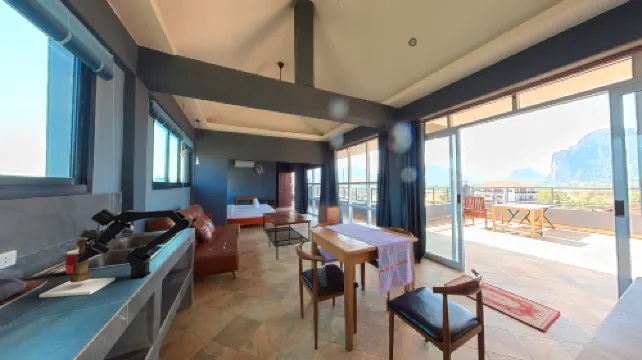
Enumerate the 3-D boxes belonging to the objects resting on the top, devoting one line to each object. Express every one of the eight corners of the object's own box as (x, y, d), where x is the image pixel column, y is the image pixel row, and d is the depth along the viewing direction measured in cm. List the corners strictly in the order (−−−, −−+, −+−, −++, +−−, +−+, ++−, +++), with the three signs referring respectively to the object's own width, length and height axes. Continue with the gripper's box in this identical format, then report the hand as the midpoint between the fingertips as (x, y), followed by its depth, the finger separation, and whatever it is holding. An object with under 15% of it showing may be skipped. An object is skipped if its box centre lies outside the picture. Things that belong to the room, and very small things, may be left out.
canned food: (75, 275, 106) (76, 253, 106) (60, 274, 106) (61, 253, 107) (92, 268, 114) (92, 248, 114) (78, 268, 114) (78, 248, 114)
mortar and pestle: (95, 277, 96) (96, 238, 96) (75, 283, 90) (75, 242, 90) (87, 274, 98) (87, 237, 98) (66, 281, 92) (67, 240, 92)
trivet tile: (114, 280, 102) (114, 277, 102) (90, 294, 89) (90, 291, 89) (71, 282, 98) (71, 280, 98) (39, 297, 86) (39, 294, 86)
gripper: (91, 219, 102) (54, 247, 93) (99, 224, 92) (58, 256, 83) (113, 232, 109) (81, 259, 100) (122, 238, 98) (87, 269, 89)
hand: (77, 261), depth 93 cm, fingers closed on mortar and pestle, 4 cm apart
